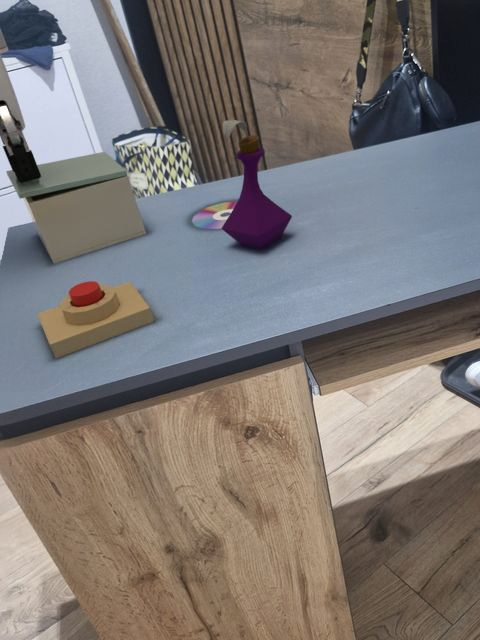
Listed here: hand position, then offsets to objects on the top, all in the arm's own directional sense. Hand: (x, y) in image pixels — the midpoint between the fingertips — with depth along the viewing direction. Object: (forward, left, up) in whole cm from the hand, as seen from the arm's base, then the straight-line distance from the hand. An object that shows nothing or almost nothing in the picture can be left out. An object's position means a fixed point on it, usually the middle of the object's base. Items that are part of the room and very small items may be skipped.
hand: (26, 173), depth 96 cm
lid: (+5, 0, -2) cm, 6 cm away
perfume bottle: (+26, -24, -12) cm, 37 cm away
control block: (0, -31, -12) cm, 33 cm away
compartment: (+6, 0, -12) cm, 13 cm away
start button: (0, -31, -9) cm, 32 cm away
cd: (+26, -10, -12) cm, 30 cm away
